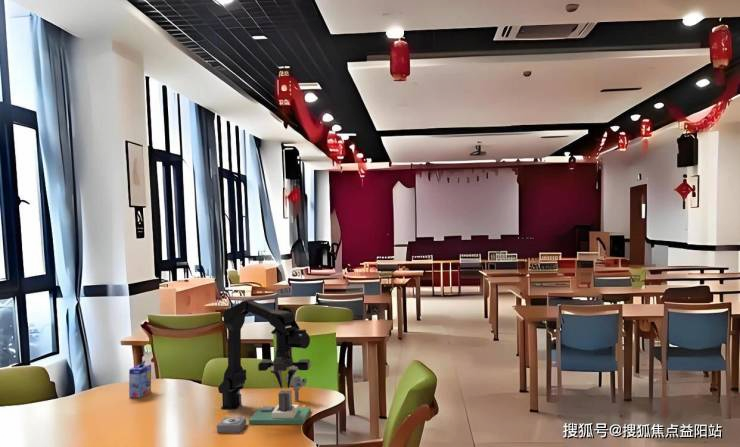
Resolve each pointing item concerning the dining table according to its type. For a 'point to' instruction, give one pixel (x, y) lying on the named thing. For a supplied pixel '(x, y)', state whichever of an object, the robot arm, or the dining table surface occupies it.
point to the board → (280, 415)
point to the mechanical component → (297, 384)
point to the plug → (285, 401)
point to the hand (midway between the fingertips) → (285, 388)
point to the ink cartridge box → (140, 380)
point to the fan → (231, 425)
